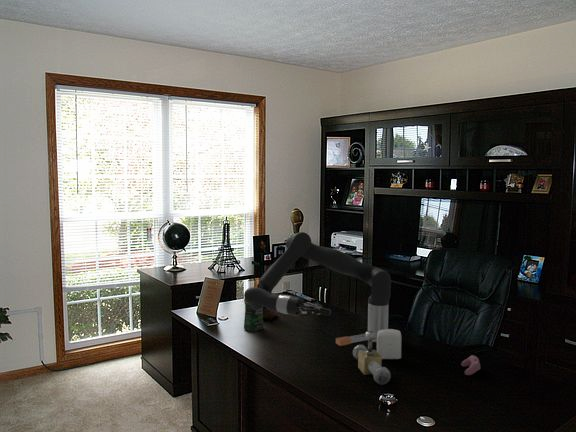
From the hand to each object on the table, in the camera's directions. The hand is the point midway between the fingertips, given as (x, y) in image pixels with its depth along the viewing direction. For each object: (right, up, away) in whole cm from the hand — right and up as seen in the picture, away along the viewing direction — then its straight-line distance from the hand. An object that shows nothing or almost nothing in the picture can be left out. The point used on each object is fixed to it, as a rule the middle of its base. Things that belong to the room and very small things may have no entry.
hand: (330, 312), depth 184 cm
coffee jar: (-33, -19, +54) cm, 66 cm away
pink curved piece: (+56, -25, +6) cm, 62 cm away
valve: (+16, -24, +6) cm, 30 cm away
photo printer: (+26, -23, +19) cm, 40 cm away
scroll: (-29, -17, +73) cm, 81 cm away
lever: (+10, -11, +2) cm, 15 cm away
